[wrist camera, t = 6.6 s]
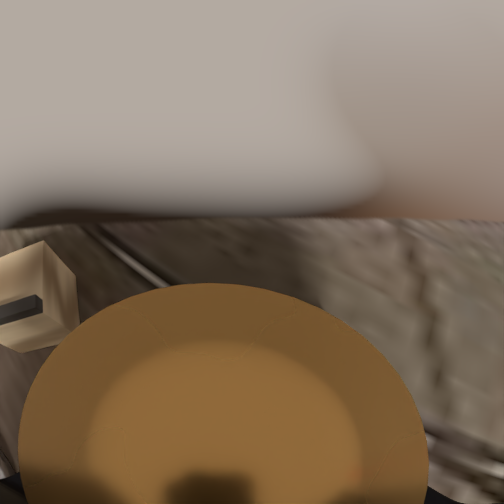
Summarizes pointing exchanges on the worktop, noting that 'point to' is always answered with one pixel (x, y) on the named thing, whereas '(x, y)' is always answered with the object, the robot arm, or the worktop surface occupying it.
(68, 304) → the block
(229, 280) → the worktop surface
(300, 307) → the pin
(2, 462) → the disc
